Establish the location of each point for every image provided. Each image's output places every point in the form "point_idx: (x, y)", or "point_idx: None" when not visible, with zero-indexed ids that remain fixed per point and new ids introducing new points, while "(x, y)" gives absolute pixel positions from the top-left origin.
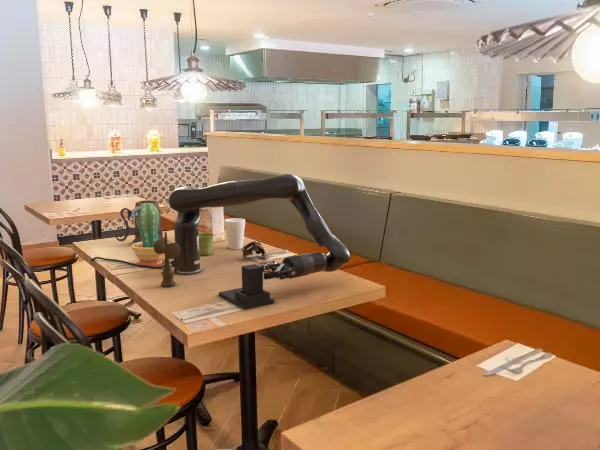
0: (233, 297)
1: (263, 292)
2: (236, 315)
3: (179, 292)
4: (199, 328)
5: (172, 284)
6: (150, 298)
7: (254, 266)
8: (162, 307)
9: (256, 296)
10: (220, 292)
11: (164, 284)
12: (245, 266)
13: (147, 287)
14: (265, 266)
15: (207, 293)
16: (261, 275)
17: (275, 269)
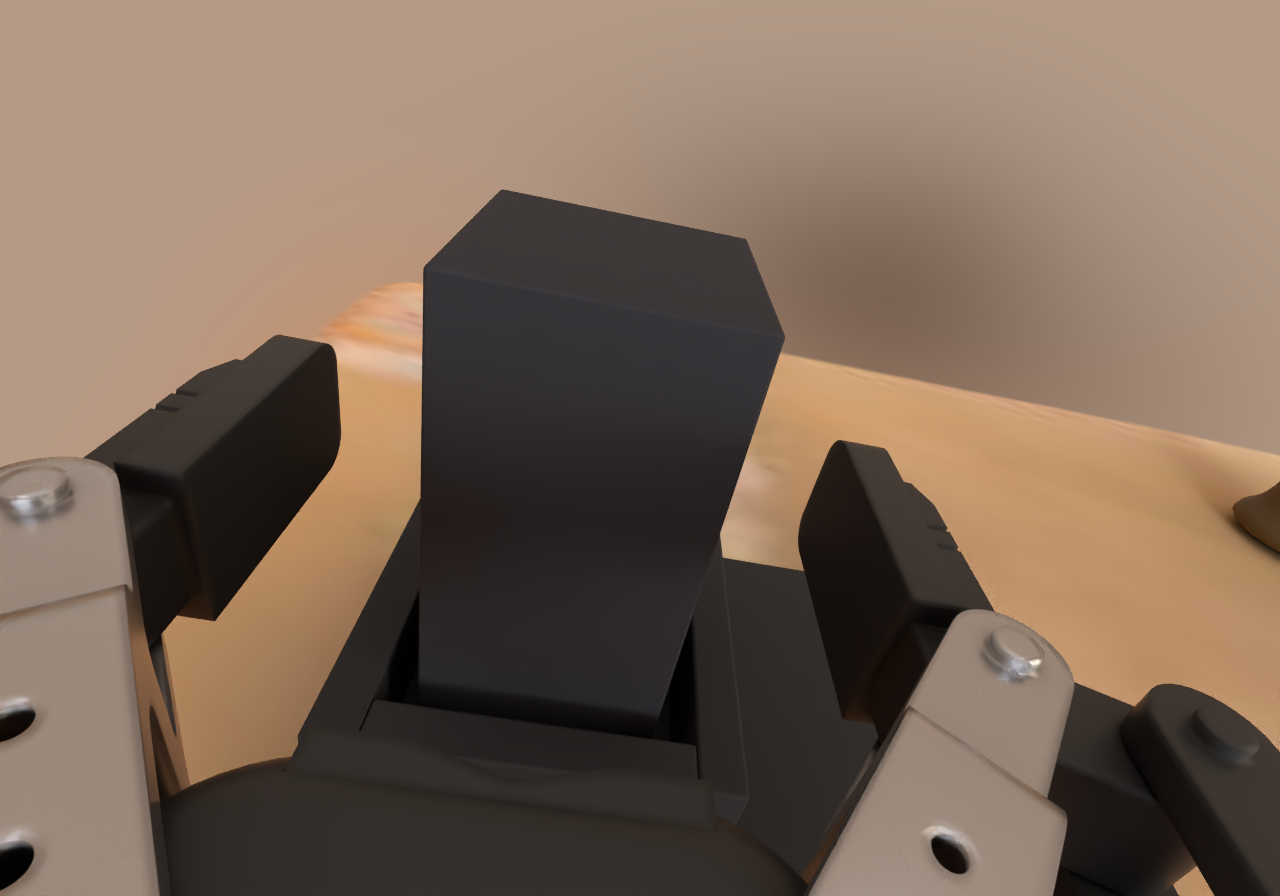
0: (731, 585)
1: (450, 721)
2: (385, 450)
3: (1097, 511)
4: (411, 307)
5: (1262, 531)
6: (996, 406)
7: (599, 259)
8: (821, 372)
9: (392, 558)
10: None
11: (1244, 499)
12: (702, 242)
13: (1227, 474)
14: (901, 715)
15: (1037, 599)
16: (428, 420)
17: (370, 771)
